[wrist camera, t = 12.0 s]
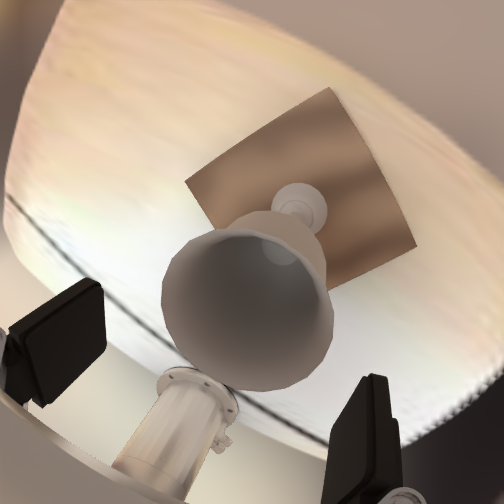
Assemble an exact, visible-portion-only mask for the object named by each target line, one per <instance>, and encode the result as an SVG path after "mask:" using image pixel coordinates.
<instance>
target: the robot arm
mask: <svg viewBox="0 0 504 504" xmlns="http://www.w3.org/2000/svg"><path fill="white" fill-rule="evenodd" d="M8 329H9V334H8V335H7V336H6V333H5V331H4V330H3V329H2V328H0V504H188V503H186V502H184V500H185V498H186V496H187V494H188V492H189V490H190V488H191V486H192V484H193V482H194V480H195V478H196V476H197V474H198V472H199V470H200V468H201V466H202V464H203V462H204V460H205V457H206V455H207V453H208V451H209V449H210V448H211V449H212V450H214V451H215V452H216V453H217V454H220V453H222V452H223V451H224V450H225V448H226V447H229V446H230V445H231V444H232V441H231V440H230V439H229V438H228V437H227V436H226V435H225V434H224V430H225V428H226V427H228V426H230V425H231V424H232V423H233V422H234V420H235V418H236V416H237V412H238V409H237V403H236V401H235V399H234V397H233V395H232V394H231V393H230V391H229V390H228V389H227V388H226V387H225V386H224V385H223V384H221V383H219V382H216V381H214V380H213V379H211V378H210V377H208V376H207V375H205V374H204V373H202V372H200V371H197V370H194V369H190V368H173V369H169V370H167V371H165V372H164V373H163V374H162V375H161V377H160V378H159V380H158V382H157V393H158V396H159V398H158V400H157V401H156V402H155V404H154V405H153V407H152V408H151V410H150V411H149V412H148V414H147V415H146V417H145V418H144V420H143V421H142V423H141V424H140V425H139V427H138V428H137V430H136V431H135V432H134V434H133V435H132V437H131V438H130V440H129V441H128V442H127V444H126V445H125V447H124V448H123V450H122V451H121V452H120V454H119V455H118V457H117V458H116V460H115V461H114V463H113V464H112V466H111V467H110V466H108V465H106V464H104V463H103V462H101V461H99V460H97V459H96V458H94V457H93V456H91V455H89V454H88V453H86V452H84V451H83V450H81V449H80V448H78V447H77V446H75V445H74V444H72V443H71V442H69V441H68V440H66V439H65V438H63V437H62V436H60V435H59V434H57V433H56V432H54V431H53V430H52V429H50V428H49V427H48V426H46V425H45V424H43V423H42V422H41V421H40V420H38V419H37V418H36V417H34V416H33V415H32V414H31V413H29V412H28V401H29V400H30V399H31V398H32V401H33V402H35V403H36V404H37V405H38V406H40V407H41V408H44V407H45V406H46V405H47V404H51V403H52V402H54V401H55V399H57V397H59V396H60V394H62V393H63V392H64V391H65V390H66V389H67V388H68V387H69V386H70V385H71V384H72V383H73V382H74V381H75V380H76V379H77V378H78V377H79V376H80V375H81V374H82V373H83V372H84V371H85V370H86V369H87V368H88V367H89V366H90V365H91V364H92V363H93V362H94V361H95V360H96V359H97V358H98V357H99V356H100V355H101V354H102V353H103V352H104V351H105V349H106V346H107V340H106V327H105V310H104V290H103V288H101V284H100V283H99V282H97V281H95V280H92V279H90V278H87V277H86V278H83V279H82V280H80V281H79V282H77V283H75V284H74V285H72V286H71V287H69V288H68V289H66V290H64V291H63V292H61V293H60V294H58V295H57V296H55V297H54V298H52V299H51V300H49V301H47V302H46V303H44V304H43V305H41V306H40V307H38V308H37V309H35V310H34V311H32V312H31V313H29V314H28V315H26V316H25V317H23V318H22V319H21V320H19V321H18V322H16V323H15V324H13V325H12V326H10V327H9V328H8ZM321 504H426V502H425V500H424V498H423V497H422V496H421V494H420V493H419V492H417V491H415V490H414V489H411V488H407V487H403V478H402V461H401V446H400V435H399V425H398V421H397V419H396V418H392V412H391V403H390V394H389V385H388V379H387V377H386V376H381V375H377V374H373V373H370V374H369V375H368V377H366V376H363V377H362V378H361V380H360V382H359V384H358V385H357V387H356V389H355V391H354V392H353V394H352V396H351V397H350V399H349V401H348V402H347V404H346V406H345V407H344V409H343V411H342V412H341V414H340V415H339V417H338V419H337V420H336V422H335V423H334V425H333V427H332V429H331V433H330V440H329V449H328V457H327V465H326V472H325V479H324V486H323V492H322V498H321Z"/></svg>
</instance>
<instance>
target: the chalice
mask: <svg viewBox="0 0 504 504" xmlns="http://www.w3.org/2000/svg"><path fill="white" fill-rule="evenodd" d="M326 218H327V205H326V202H325V199H324V197H323V196H322V195H321V193H320V192H319V191H318V190H317V189H315V188H314V187H312V186H311V185H308V184H304V183H292V184H289V185H287V186H284V187H283V188H282V189H281V190H279V191H278V192H277V194H276V195H275V197H274V199H273V202H272V206H271V211H254V212H252V213H249V214H247V215H245V216H242V217H240V218H238V219H237V220H235V221H234V222H233V223H232V224H231V225H230V226H228V227H227V228H226V229H215V230H213V231H211V232H208V233H206V234H204V235H202V236H199V237H197V238H195V239H192V240H190V241H189V242H188V243H187V244H186V245H185V246H184V247H183V248H182V249H181V250H180V251H179V252H178V253H177V254H176V255H175V256H174V257H173V258H172V260H171V262H170V264H169V267H168V269H167V272H166V274H165V276H164V279H163V281H162V296H161V307H162V311H163V316H164V320H165V324H166V328H167V330H168V332H169V334H170V335H171V337H172V339H173V341H174V343H175V345H176V347H177V348H178V350H179V351H180V352H181V353H182V354H183V355H184V356H185V357H186V359H187V360H188V361H189V362H190V363H191V364H192V365H193V366H194V367H195V368H196V369H198V370H199V371H201V372H202V373H204V374H205V375H207V376H208V377H210V378H211V379H213V380H214V381H216V382H219V383H222V384H224V385H227V386H230V387H232V388H235V389H238V390H247V391H256V392H266V391H272V390H278V389H284V388H287V387H289V386H291V385H293V384H295V383H297V382H299V381H301V380H303V379H305V378H307V377H308V376H309V375H310V374H311V373H312V372H313V371H314V369H315V368H316V367H317V366H318V365H319V364H320V363H321V362H322V361H323V359H324V357H325V355H326V353H327V350H328V348H329V346H330V343H331V341H332V338H333V323H334V311H333V308H332V304H331V301H330V297H329V294H328V291H327V287H326V260H325V256H324V253H323V250H322V247H321V244H320V243H319V241H318V240H317V238H316V237H315V236H314V234H316V233H317V232H319V231H320V230H321V228H322V227H323V225H324V224H325V221H326Z"/></svg>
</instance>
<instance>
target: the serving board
mask: <svg viewBox="0 0 504 504" xmlns="http://www.w3.org/2000/svg"><path fill="white" fill-rule="evenodd" d="M185 183H186V184H187V186H188V188H189V189H190V191H191V192H192V194H193V195H194V197H195V199H196V200H197V202H198V203H199V205H200V206H201V208H202V210H203V211H204V213H205V214H206V216H207V217H208V219H209V220H210V222H211V224H212V225H213V227H214V228H215V229H226V228H227V227H228V226H230V225H231V224H232V223H233V222H234V221H235V220H237V219H238V218H240V217H242V216H245V215H247V214H249V213H252V212H254V211H271V206H272V202H273V199H274V197H275V195H276V194H277V192H278V191H279V190H281V189H282V188H283V187H284V186H287V185H289V184H292V183H304V184H308V185H311V186H312V187H314V188H315V189H317V190H318V191H319V192H320V193H321V195H322V196H323V197H324V199H325V202H326V205H327V218H326V221H325V224H324V225H323V227H322V228H321V230H320V231H319V232H317V233H316V234H314V236H315V237H316V238H317V240H318V241H319V243H320V244H321V247H322V250H323V253H324V256H325V260H326V287H327V291H328V290H330V289H332V288H334V287H337V286H339V285H341V284H343V283H345V282H347V281H349V280H351V279H354V278H356V277H358V276H360V275H362V274H364V273H366V272H368V271H370V270H372V269H374V268H376V267H378V266H380V265H382V264H384V263H386V262H388V261H390V260H392V259H394V258H396V257H398V256H400V255H402V254H404V253H406V252H408V251H410V250H412V249H414V248H416V247H417V245H416V243H415V240H414V238H413V236H412V234H411V231H410V229H409V227H408V225H407V223H406V220H405V218H404V216H403V214H402V212H401V210H400V208H399V206H398V204H397V202H396V200H395V198H394V196H393V194H392V192H391V190H390V188H389V186H388V184H387V182H386V180H385V178H384V176H383V174H382V173H381V171H380V169H379V167H378V165H377V163H376V162H375V160H374V158H373V156H372V154H371V153H370V151H369V149H368V147H367V146H366V144H365V142H364V141H363V139H362V137H361V135H360V134H359V132H358V131H357V129H356V127H355V126H354V124H353V122H352V121H351V119H350V118H349V116H348V114H347V113H346V111H345V110H344V108H343V107H342V105H341V103H340V102H339V100H338V99H337V97H336V96H335V94H334V93H333V91H332V90H331V89H330V87H328V88H326V89H324V90H323V91H321V92H319V93H317V94H316V95H314V96H312V97H311V98H309V99H307V100H305V101H304V102H302V103H300V104H299V105H297V106H295V107H294V108H292V109H291V110H289V111H287V112H286V113H284V114H282V115H281V116H279V117H278V118H276V119H274V120H273V121H271V122H270V123H268V124H267V125H265V126H264V127H262V128H260V129H259V130H257V131H256V132H254V133H253V134H251V135H250V136H248V137H247V138H245V139H244V140H242V141H241V142H239V143H238V144H236V145H235V146H233V147H232V148H230V149H229V150H227V151H226V152H225V153H223V154H222V155H220V156H219V157H217V158H216V159H215V160H213V161H212V162H210V163H209V164H208V165H206V166H205V167H203V168H202V169H201V170H199V171H198V172H196V173H195V174H194V175H192V176H191V177H190V178H188V179H187V180H186V181H185Z"/></svg>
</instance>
